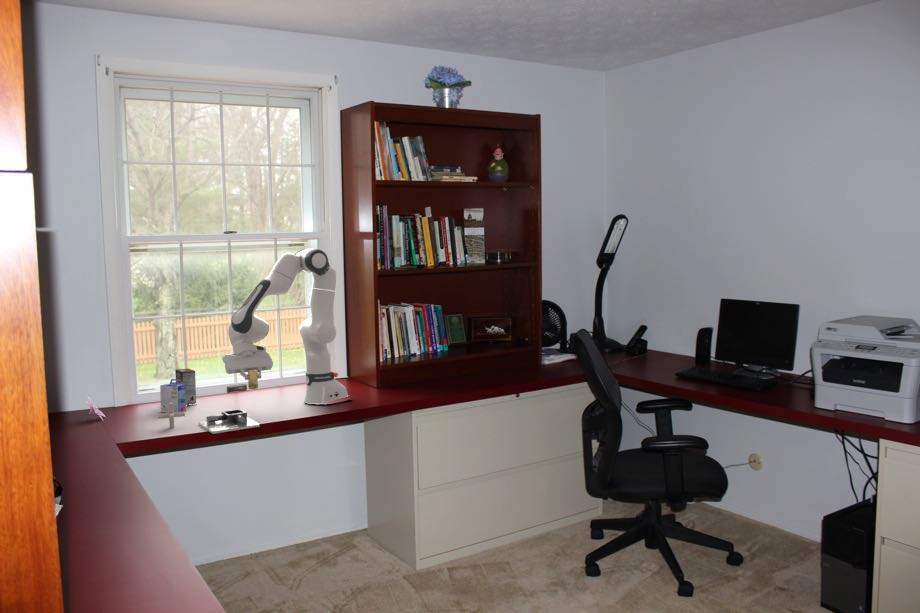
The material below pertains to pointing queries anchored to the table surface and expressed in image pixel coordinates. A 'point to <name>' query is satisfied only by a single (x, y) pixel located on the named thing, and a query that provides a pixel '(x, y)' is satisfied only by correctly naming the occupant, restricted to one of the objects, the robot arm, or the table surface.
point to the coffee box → (187, 384)
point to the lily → (94, 409)
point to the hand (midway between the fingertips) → (253, 378)
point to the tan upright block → (253, 379)
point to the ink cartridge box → (173, 396)
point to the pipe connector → (171, 415)
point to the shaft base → (228, 422)
